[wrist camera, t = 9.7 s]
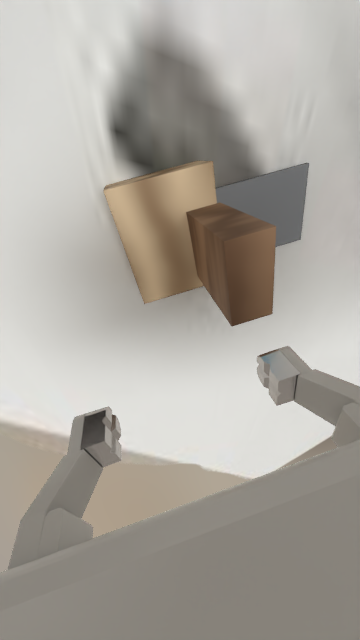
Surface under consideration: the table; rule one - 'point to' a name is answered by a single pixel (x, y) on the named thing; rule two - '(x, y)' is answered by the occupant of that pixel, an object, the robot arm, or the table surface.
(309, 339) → the table surface
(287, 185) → the felt pad
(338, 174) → the table surface
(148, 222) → the oak step
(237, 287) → the walnut slab
